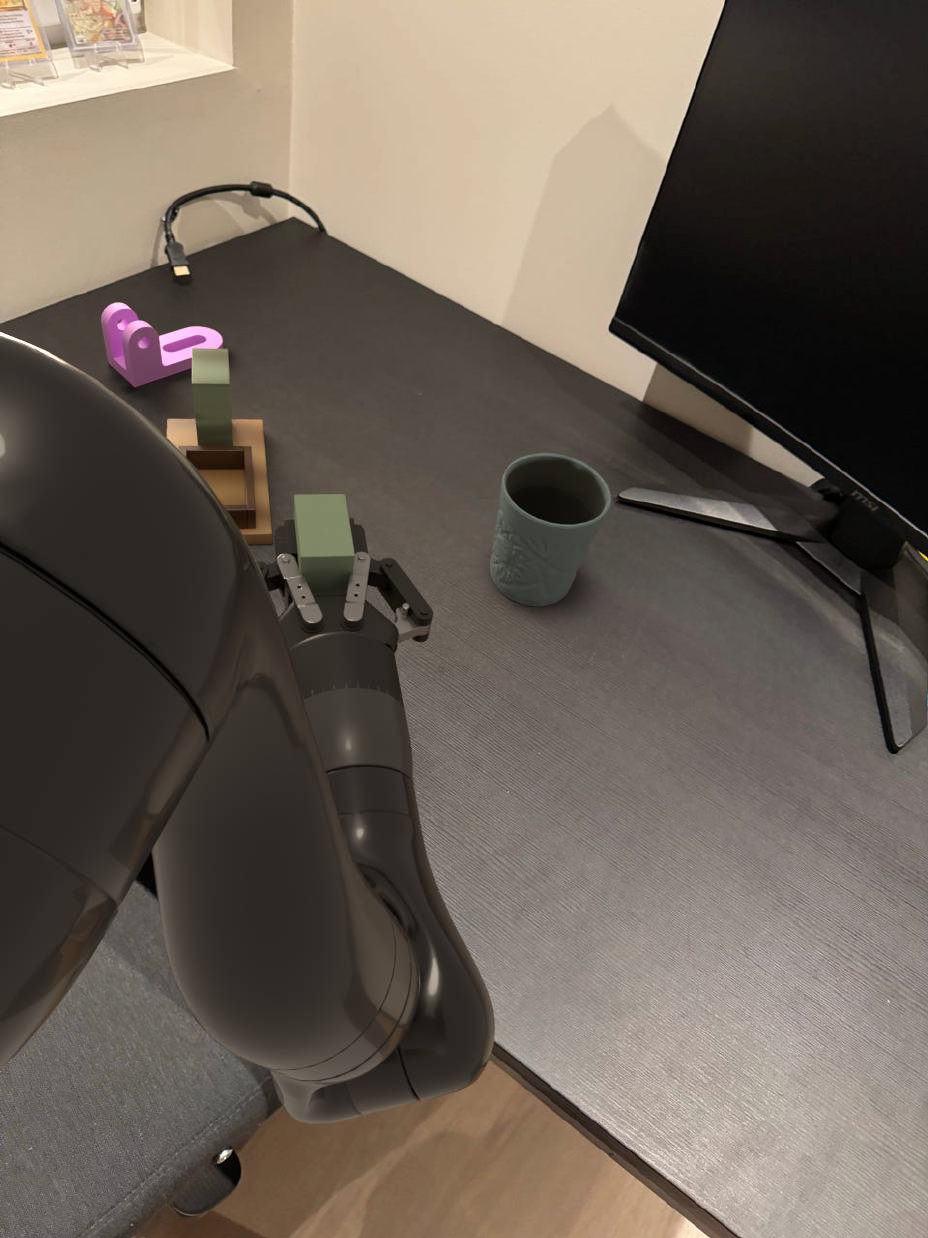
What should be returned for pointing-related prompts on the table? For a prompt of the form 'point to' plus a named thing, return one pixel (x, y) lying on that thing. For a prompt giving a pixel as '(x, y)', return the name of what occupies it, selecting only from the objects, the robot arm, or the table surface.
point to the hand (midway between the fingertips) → (318, 527)
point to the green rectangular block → (324, 541)
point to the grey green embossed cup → (545, 526)
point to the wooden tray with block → (225, 446)
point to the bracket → (150, 346)
